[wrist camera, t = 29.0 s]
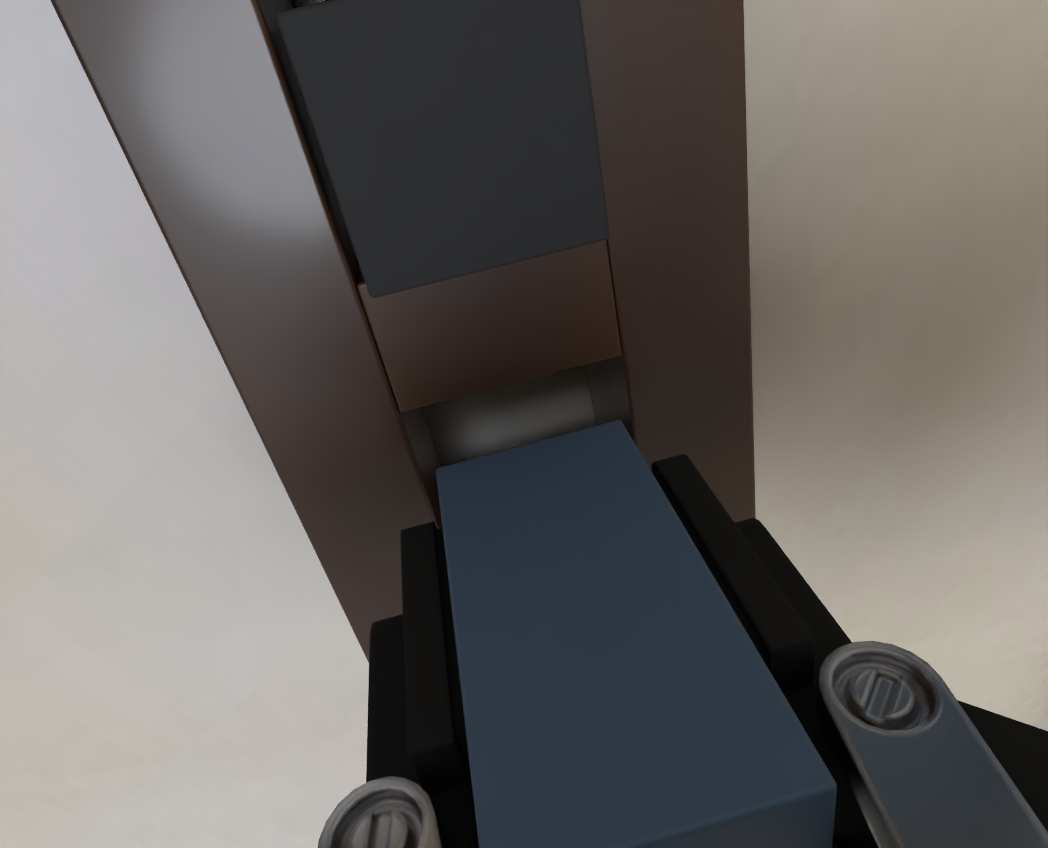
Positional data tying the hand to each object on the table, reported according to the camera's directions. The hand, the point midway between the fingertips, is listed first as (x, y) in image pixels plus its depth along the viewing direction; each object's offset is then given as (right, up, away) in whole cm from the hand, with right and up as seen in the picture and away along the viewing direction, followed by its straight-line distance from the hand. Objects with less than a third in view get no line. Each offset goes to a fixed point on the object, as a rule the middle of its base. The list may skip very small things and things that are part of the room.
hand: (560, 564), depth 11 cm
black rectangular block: (-2, +9, +2) cm, 9 cm away
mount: (-2, +6, +4) cm, 7 cm away
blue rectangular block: (0, +1, +1) cm, 1 cm away
